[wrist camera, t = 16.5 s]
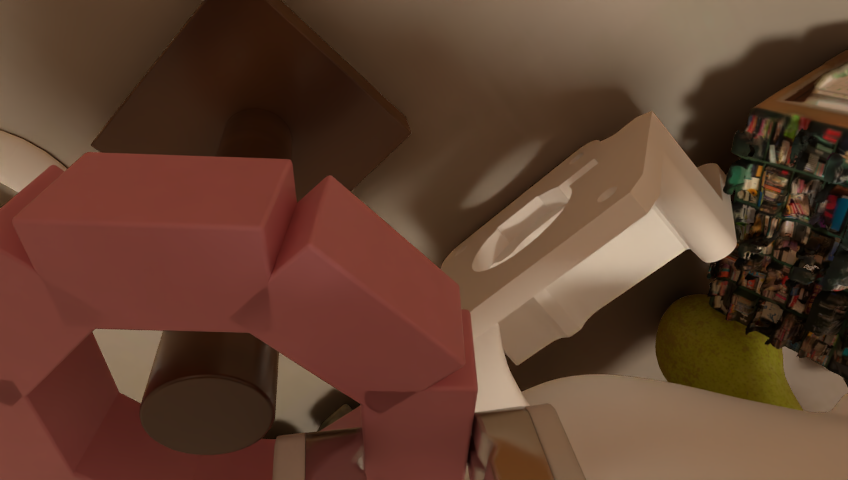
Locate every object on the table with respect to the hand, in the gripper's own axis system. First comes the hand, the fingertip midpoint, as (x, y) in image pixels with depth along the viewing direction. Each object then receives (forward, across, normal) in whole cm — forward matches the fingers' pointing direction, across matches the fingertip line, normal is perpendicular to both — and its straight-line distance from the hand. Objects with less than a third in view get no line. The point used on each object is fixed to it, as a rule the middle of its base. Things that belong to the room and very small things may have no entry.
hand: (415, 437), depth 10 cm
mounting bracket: (+14, -9, +4) cm, 17 cm away
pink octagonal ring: (+2, +3, 0) cm, 4 cm away
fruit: (+14, -18, +12) cm, 26 cm away
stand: (+14, +4, 0) cm, 15 cm away
